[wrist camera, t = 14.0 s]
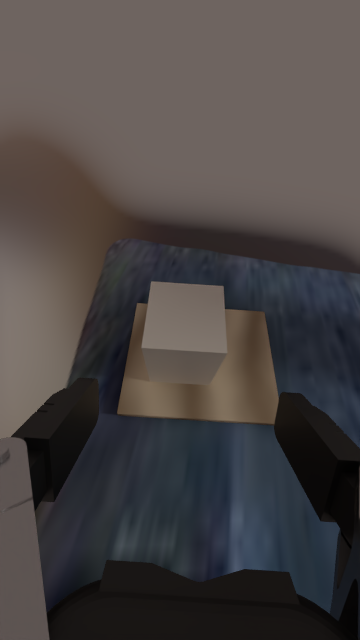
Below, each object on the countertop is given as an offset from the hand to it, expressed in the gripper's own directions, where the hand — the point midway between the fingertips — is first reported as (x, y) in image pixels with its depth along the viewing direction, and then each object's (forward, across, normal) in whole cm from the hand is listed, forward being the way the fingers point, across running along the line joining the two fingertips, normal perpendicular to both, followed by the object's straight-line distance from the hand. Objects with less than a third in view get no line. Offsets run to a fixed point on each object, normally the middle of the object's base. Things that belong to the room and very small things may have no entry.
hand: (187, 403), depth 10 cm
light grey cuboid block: (+15, 0, +4) cm, 15 cm away
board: (+16, -2, +5) cm, 16 cm away
